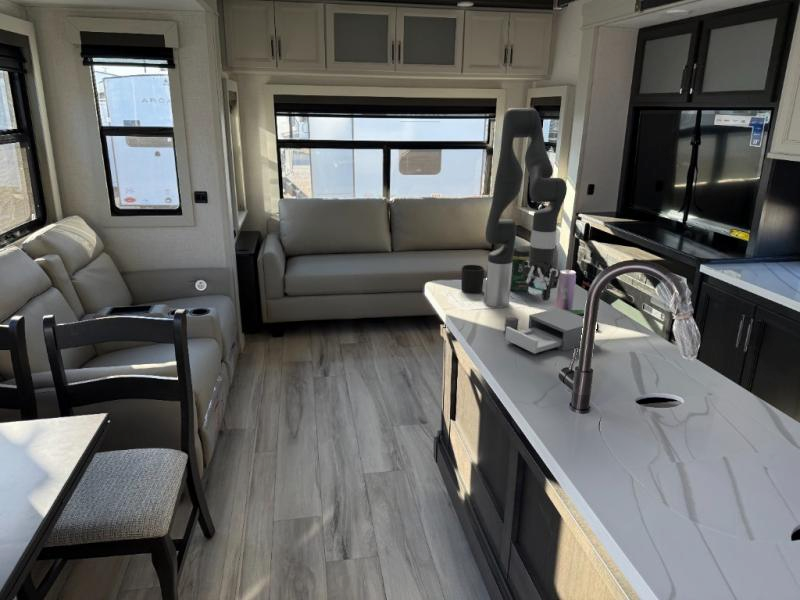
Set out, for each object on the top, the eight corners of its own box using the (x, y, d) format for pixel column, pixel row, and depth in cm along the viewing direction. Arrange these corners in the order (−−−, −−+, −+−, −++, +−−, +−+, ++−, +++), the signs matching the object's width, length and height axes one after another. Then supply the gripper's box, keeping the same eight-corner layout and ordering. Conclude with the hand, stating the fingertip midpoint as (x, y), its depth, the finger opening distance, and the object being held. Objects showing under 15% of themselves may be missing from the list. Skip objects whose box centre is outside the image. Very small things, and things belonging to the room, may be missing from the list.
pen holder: (487, 290, 234) (489, 267, 231) (474, 295, 228) (475, 272, 224) (469, 286, 240) (470, 263, 237) (455, 290, 234) (457, 267, 230)
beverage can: (573, 308, 214) (578, 271, 209) (569, 313, 209) (573, 274, 204) (558, 305, 217) (562, 268, 212) (553, 310, 212) (557, 272, 207)
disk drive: (598, 332, 193) (587, 316, 207) (599, 325, 193) (588, 309, 206) (568, 331, 194) (559, 315, 208) (569, 323, 193) (560, 308, 207)
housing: (527, 334, 189) (529, 315, 187) (556, 326, 196) (558, 307, 194) (563, 351, 176) (566, 330, 174) (593, 342, 184) (596, 322, 181)
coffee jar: (511, 292, 233) (514, 248, 227) (504, 286, 240) (507, 244, 234) (533, 291, 234) (537, 248, 228) (526, 285, 242) (529, 243, 236)
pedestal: (501, 331, 191) (502, 318, 189) (511, 329, 193) (512, 315, 192) (510, 336, 188) (511, 322, 186) (520, 333, 190) (521, 319, 188)
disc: (524, 291, 175) (524, 286, 174) (537, 288, 178) (538, 283, 178) (538, 296, 170) (538, 291, 170) (552, 293, 173) (552, 288, 173)
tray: (505, 339, 182) (506, 327, 180) (534, 331, 188) (535, 319, 187) (534, 353, 171) (535, 340, 170) (564, 344, 178) (565, 332, 177)
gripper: (516, 241, 173) (512, 293, 179) (551, 251, 162) (546, 306, 167) (534, 238, 177) (529, 289, 182) (569, 248, 165) (563, 301, 171)
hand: (537, 297), depth 175 cm, fingers closed on disc, 6 cm apart
